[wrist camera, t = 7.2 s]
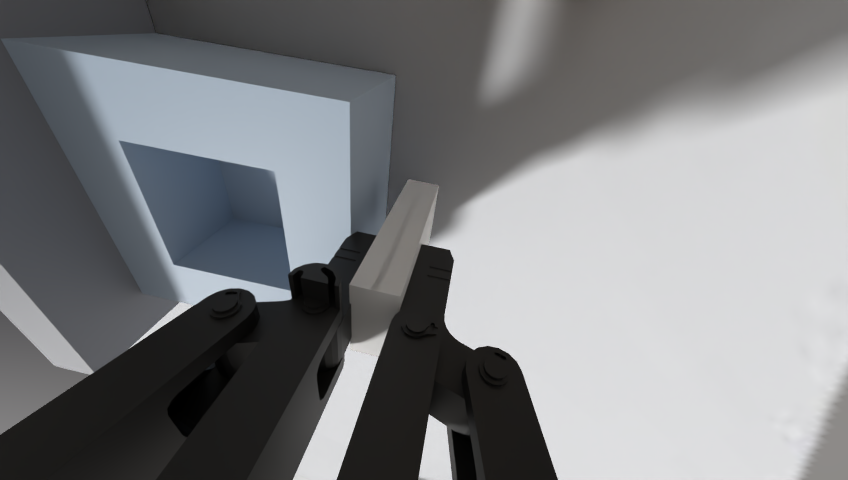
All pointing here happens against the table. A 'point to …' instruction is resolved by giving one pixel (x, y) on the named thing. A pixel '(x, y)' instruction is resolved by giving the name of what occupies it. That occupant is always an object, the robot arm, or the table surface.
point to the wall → (62, 209)
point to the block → (215, 154)
